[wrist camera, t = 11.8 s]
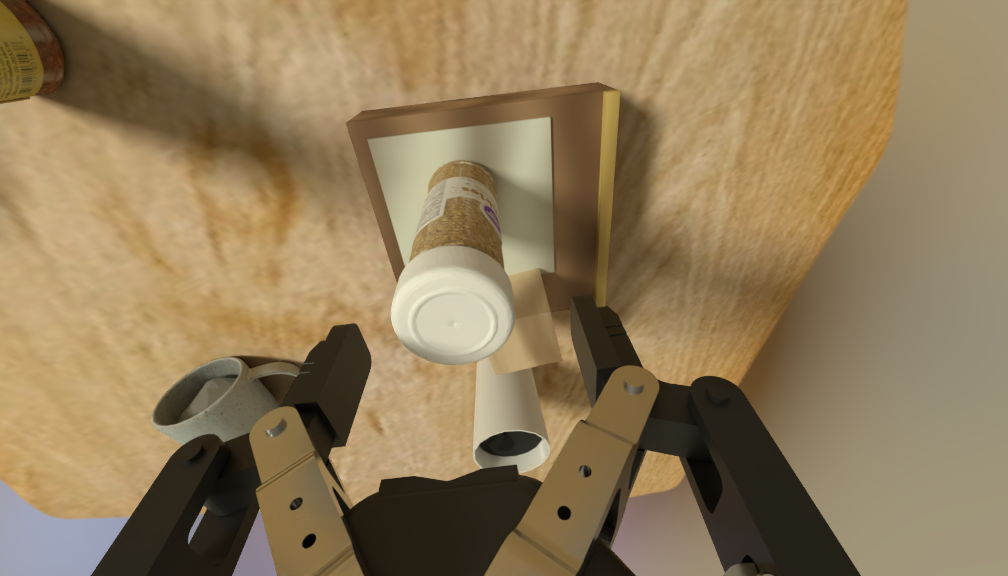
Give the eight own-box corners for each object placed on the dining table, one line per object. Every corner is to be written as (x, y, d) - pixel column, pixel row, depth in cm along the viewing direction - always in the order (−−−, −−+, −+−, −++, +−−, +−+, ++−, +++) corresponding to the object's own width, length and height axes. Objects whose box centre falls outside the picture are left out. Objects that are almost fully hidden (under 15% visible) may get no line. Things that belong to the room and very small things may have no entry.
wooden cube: (550, 311, 24) (476, 328, 25) (562, 360, 27) (496, 375, 28) (538, 268, 28) (475, 283, 28) (550, 315, 31) (492, 328, 32)
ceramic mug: (238, 415, 41) (197, 484, 35) (184, 365, 37) (126, 434, 30) (327, 393, 41) (302, 459, 34) (284, 340, 36) (246, 405, 30)
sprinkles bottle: (510, 191, 25) (543, 322, 14) (465, 237, 26) (460, 386, 15) (458, 141, 23) (445, 245, 11) (412, 194, 24) (361, 330, 13)
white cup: (510, 394, 43) (520, 481, 34) (460, 374, 40) (457, 462, 32) (546, 359, 40) (566, 444, 31) (495, 334, 37) (501, 420, 29)
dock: (598, 82, 25) (620, 91, 21) (590, 279, 34) (605, 310, 30) (362, 111, 25) (342, 125, 21) (417, 300, 34) (410, 333, 30)
